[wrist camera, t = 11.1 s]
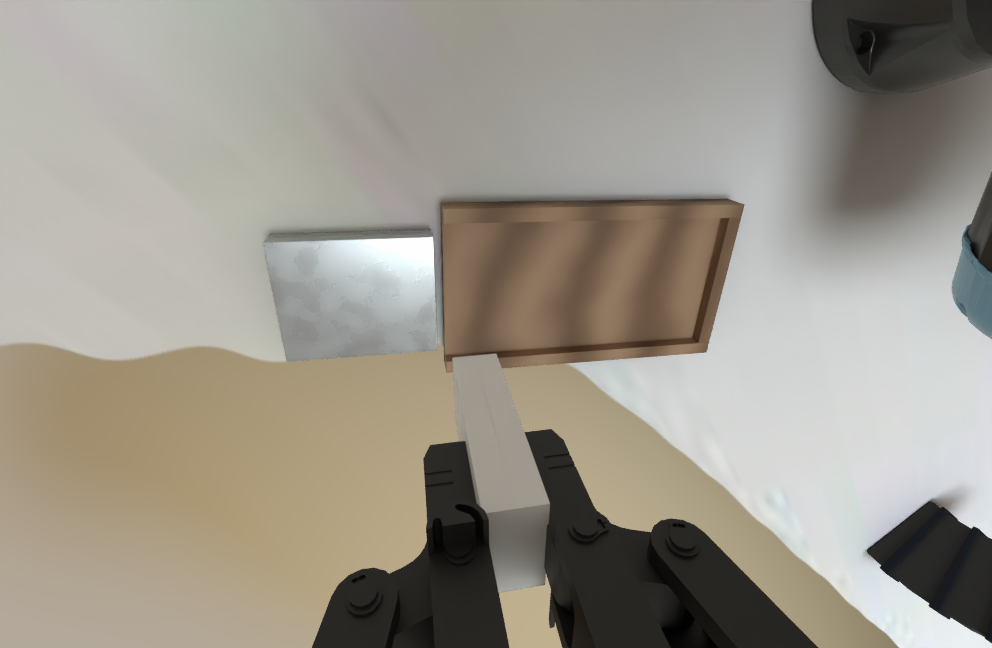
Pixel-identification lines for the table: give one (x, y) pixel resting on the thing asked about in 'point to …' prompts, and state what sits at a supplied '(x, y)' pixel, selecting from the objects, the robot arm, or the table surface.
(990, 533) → the table surface
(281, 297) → the cover plate
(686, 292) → the brown wooden tray
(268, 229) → the table surface
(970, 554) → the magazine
